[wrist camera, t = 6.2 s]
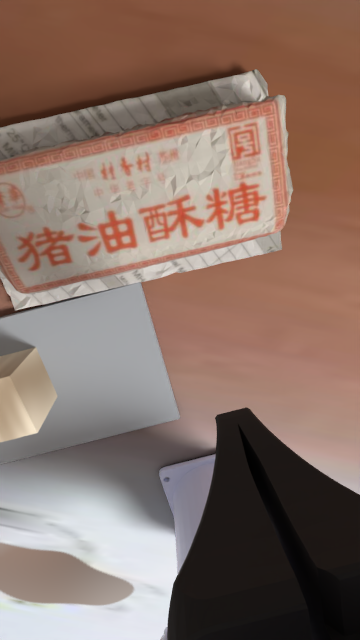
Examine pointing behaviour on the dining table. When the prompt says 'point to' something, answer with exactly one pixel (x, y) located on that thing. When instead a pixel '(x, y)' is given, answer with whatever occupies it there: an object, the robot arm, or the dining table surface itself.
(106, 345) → the grey mat
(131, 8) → the dining table surface
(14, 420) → the maple block
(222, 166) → the packaged product
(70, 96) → the dining table surface
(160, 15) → the dining table surface
